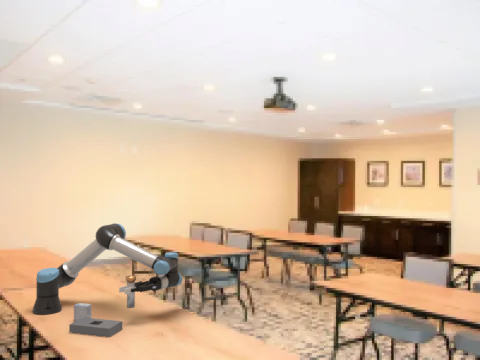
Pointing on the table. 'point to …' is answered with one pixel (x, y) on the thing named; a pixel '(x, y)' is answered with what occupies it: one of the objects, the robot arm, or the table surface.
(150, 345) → the table surface
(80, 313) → the medicine box
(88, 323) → the socket block
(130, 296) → the plug
